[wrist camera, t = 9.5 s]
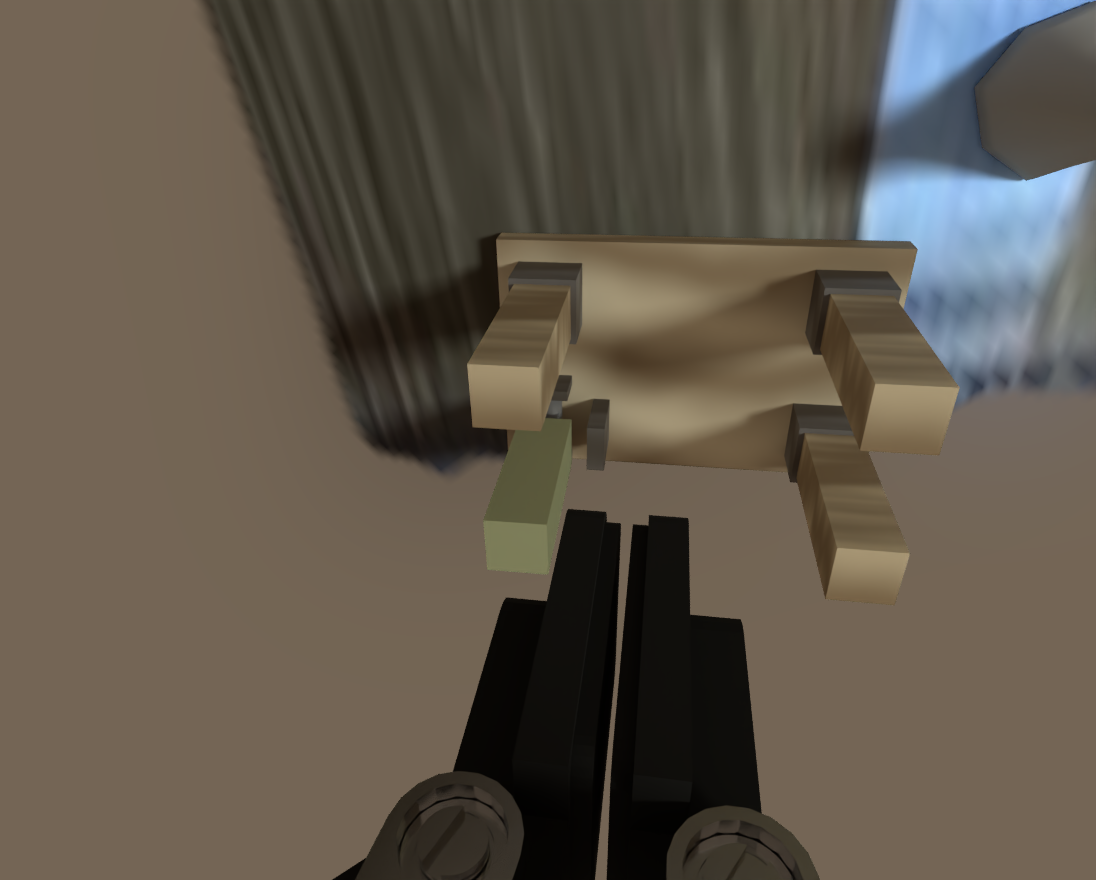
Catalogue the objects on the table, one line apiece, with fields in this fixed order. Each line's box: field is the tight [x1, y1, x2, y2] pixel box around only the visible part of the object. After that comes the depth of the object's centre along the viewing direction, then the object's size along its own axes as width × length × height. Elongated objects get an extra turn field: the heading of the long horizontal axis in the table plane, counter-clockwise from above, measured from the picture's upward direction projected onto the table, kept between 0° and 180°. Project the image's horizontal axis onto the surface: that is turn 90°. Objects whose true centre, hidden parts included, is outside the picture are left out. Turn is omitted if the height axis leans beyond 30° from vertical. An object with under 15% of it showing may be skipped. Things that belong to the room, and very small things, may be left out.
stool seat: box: [467, 233, 959, 605], centre depth 38 cm, size 14×22×14 cm, turn 91°
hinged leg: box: [483, 400, 572, 574], centre depth 40 cm, size 4×3×13 cm
